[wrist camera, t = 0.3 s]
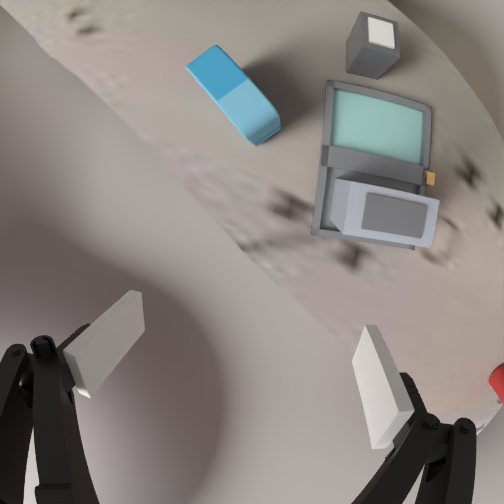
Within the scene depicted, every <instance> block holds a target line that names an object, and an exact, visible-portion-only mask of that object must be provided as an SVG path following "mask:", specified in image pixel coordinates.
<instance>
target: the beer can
mask: <svg viewBox="0 0 504 504" xmlns="http://www.w3.org/2000/svg"><path fill="white" fill-rule="evenodd" d="M489 383H490V385H491V386H492V388H493V389H494V391H495V392H496V394H497V395H498V397H499V398H500V400H501V401H502V403H503V404H504V365H501V366H499V367H498V368H497V369H495V371H494V372H493V373H492V374H491V376H490V379H489Z"/></svg>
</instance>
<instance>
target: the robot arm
mask: <svg viewBox="0 0 504 504" xmlns="http://www.w3.org/2000/svg"><path fill="white" fill-rule="evenodd" d="M144 330H145V326H144V317H143V307H142V296H141V292H137V291H132V290H130V291H129V292H128V293H127V294H125V295H124V296H123V297H122V298H121V299H120V300H118V301H117V302H116V303H115V304H114V305H113V306H111V307H110V308H109V309H108V310H107V311H106V312H105V313H103V314H102V315H101V316H100V317H99V318H98V319H97V320H96V321H94V322H93V323H92V324H86V325H84V326H81V327H80V328H79V329H77V330H76V331H75V333H73V334H72V335H71V336H70V337H68V339H66V340H65V341H64V342H63V343H62V344H61V345H59V346H58V347H57V348H56V346H55V344H54V341H53V339H52V338H51V337H50V336H47V335H42V336H38V337H36V338H34V339H33V340H32V341H31V343H30V346H31V349H32V351H33V354H30V353H28V352H27V350H26V347H25V346H24V345H22V344H14V345H11V346H10V347H9V348H8V349H7V350H6V352H5V354H4V356H3V358H2V360H1V362H0V504H23V500H24V484H25V474H26V465H27V457H28V451H29V445H30V439H31V433H32V429H33V428H34V443H35V454H36V462H37V469H38V476H39V486H36V487H35V497H36V502H37V504H99V501H98V498H97V495H96V492H95V489H94V486H93V483H92V480H91V477H90V473H89V469H88V466H87V462H86V458H85V454H84V450H83V446H82V441H81V436H80V431H79V426H78V420H77V414H76V407H75V401H74V393H73V390H72V388H73V387H74V386H75V385H76V387H77V389H78V391H79V393H80V394H82V395H85V396H87V397H89V398H91V397H92V396H93V395H94V393H95V392H96V391H97V389H98V388H99V387H100V385H101V384H102V383H103V382H104V380H105V379H106V378H107V377H108V375H109V374H110V373H111V372H112V370H113V369H114V368H115V367H116V365H117V364H118V363H119V362H120V360H121V359H122V358H123V356H124V355H125V354H126V353H127V351H128V350H129V349H130V348H131V347H132V345H133V344H134V343H135V342H136V341H137V339H138V338H139V337H140V336H141V334H142V333H143V332H144ZM352 364H353V368H354V371H355V375H356V379H357V383H358V387H359V391H360V395H361V399H362V403H363V408H364V412H365V417H366V421H367V426H368V430H369V435H370V440H371V445H372V449H379V448H387V447H388V446H389V444H390V443H391V442H392V441H393V443H394V448H393V449H392V450H391V452H390V453H389V454H388V455H387V456H386V457H385V461H384V462H383V464H382V465H381V467H380V468H379V469H378V471H377V472H376V474H375V475H374V476H373V478H372V479H371V480H370V481H369V483H368V484H367V485H366V487H365V488H364V489H363V490H362V492H361V493H360V494H359V496H357V498H356V499H355V500H354V501H353V502H352V503H351V504H402V503H403V501H404V500H405V498H406V497H407V495H408V493H409V492H410V490H411V488H412V486H413V485H414V483H415V481H416V479H417V478H418V476H419V474H420V472H421V470H422V468H423V466H424V464H425V466H424V470H423V475H422V479H421V483H420V487H419V491H418V494H417V498H416V501H415V504H471V503H472V497H473V489H474V480H475V467H476V427H475V424H474V423H473V422H472V421H471V420H470V419H467V418H460V419H458V420H457V421H456V422H455V423H454V425H451V424H443V423H440V420H439V419H438V418H437V417H436V416H435V415H433V414H430V413H428V412H427V410H426V408H425V405H424V403H423V401H422V399H421V396H420V394H419V393H418V390H417V387H416V385H415V383H414V381H413V379H412V378H411V377H410V376H409V375H408V374H407V373H399V372H398V369H397V367H396V365H395V363H394V360H393V358H392V356H391V354H390V352H389V350H388V347H387V345H386V343H385V341H384V339H383V337H382V335H381V333H380V331H379V329H378V327H377V326H376V325H365V327H364V330H363V333H362V336H361V338H360V341H359V344H358V347H357V350H356V352H355V355H354V358H353V361H352ZM19 383H20V384H19Z"/></svg>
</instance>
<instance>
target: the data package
mask: <svg viewBox="0 0 504 504" xmlns="http://www.w3.org/2000/svg"><path fill="white" fill-rule="evenodd" d="M186 70H187V71H188V72H189V73H190V74H191V75H192V76H193V78H194V79H195V80H196V81H197V82H198V83H199V84H200V85H201V87H202V88H203V89H204V90H205V91H206V92H207V94H208V95H209V96H210V97H211V98H212V99H213V101H214V102H215V103H216V104H217V105H218V106H219V108H220V109H221V110H222V111H223V112H224V114H225V115H226V116H227V117H228V118H229V120H230V121H231V122H232V123H233V125H234V126H235V127H236V128H237V129H238V131H239V132H240V133H241V134H242V135H243V136H244V138H245V139H247V140H248V141H249V142H251V143H252V144H253V145H254V146H258V145H259V144H261V143H262V142H264V141H265V140H266V139H268V138H269V137H271V136H272V135H273V134H275V133H276V132H278V131H279V130H281V123H280V116H279V113H278V112H277V110H276V109H275V107H274V106H273V105H272V103H271V102H270V101H269V100H268V99H267V97H266V96H265V95H264V94H263V93H262V92H261V91H260V89H259V88H258V87H257V86H256V85H255V84H254V83H253V82H252V80H251V79H250V78H249V77H248V76H247V75H246V74H245V73H244V72H243V71H242V70H241V69H240V67H239V66H238V65H237V64H236V63H235V62H234V61H233V60H232V59H231V58H230V57H229V56H228V55H227V54H226V53H225V52H224V51H223V50H222V49H221V48H220V47H219V46H217V45H214V46H213V47H211V48H210V49H208V50H207V51H206V52H204V53H203V54H202V55H200V56H199V57H198V58H196V59H195V60H194V61H192V62H191V63H190V64H188V65H187V66H186Z"/></svg>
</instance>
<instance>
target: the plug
mask: <svg viewBox="0 0 504 504" xmlns="http://www.w3.org/2000/svg"><path fill="white" fill-rule="evenodd" d="M399 58H400V44H399V33H398V24H397V22H396V21H392V20H389V19H386V18H383V17H379V16H376V15H372V14H368V13H364V12H360V14H359V16H358V18H357V20H356V22H355V24H354V27H353V29H352V31H351V33H350V35H349V37H348V39H347V42H346V73H351V74H356V75H360V76H364V77H369V78H373V79H378V78H379V77H380V76H381V75H383V74H384V73H385V72H386V71H387V70H388V69H389V68H390V67H391V66H392V65H393V64H394V63H395V62H396V61H397V60H398V59H399Z"/></svg>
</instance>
